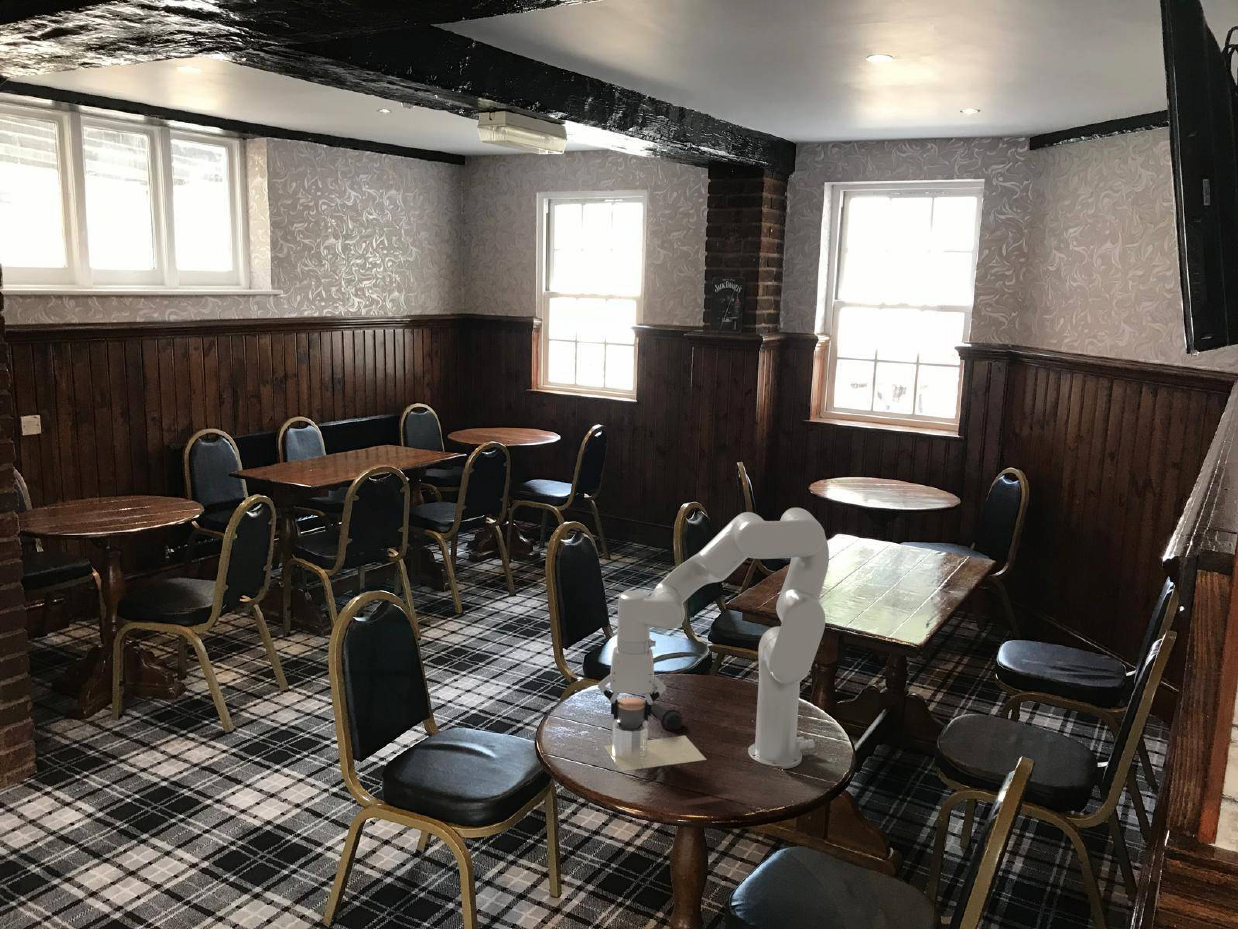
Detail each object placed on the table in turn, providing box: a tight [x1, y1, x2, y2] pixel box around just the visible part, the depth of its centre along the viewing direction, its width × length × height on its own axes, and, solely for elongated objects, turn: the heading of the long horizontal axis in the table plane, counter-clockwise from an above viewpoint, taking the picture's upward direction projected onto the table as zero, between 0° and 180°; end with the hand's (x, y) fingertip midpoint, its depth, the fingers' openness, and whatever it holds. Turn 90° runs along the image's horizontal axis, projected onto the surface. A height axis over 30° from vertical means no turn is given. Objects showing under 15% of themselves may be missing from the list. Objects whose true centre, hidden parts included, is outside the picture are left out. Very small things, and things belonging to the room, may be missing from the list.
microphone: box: [651, 702, 683, 732], centre depth 253 cm, size 6×6×20 cm
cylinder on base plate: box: [603, 719, 707, 772], centre depth 232 cm, size 21×13×8 cm, turn 109°
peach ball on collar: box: [615, 696, 646, 729], centre depth 231 cm, size 7×7×7 cm
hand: (630, 717), depth 231 cm, fingers closed on peach ball on collar, 6 cm apart
